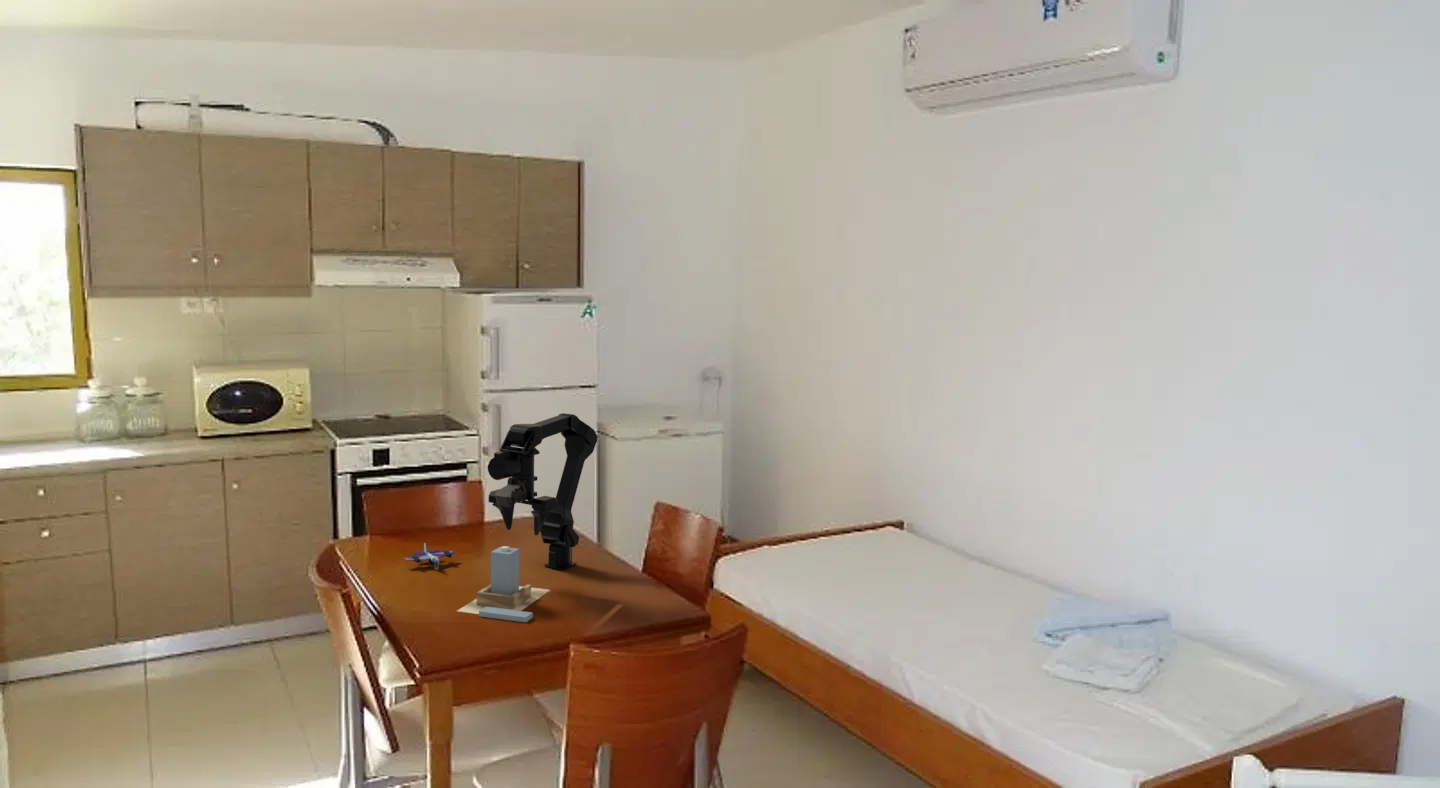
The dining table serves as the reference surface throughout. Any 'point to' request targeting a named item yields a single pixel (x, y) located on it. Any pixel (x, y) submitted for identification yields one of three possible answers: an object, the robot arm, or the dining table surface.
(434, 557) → the toy airplane
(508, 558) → the blue-grey rectangular block
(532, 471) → the robot arm
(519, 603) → the jig
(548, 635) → the dining table surface
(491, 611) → the light blue bar
